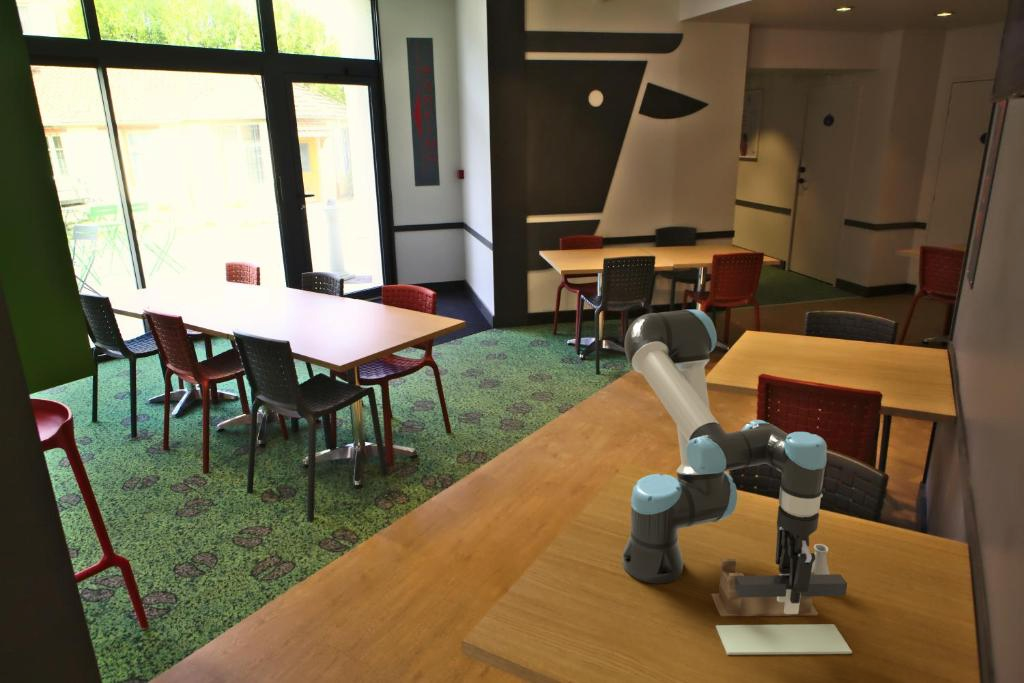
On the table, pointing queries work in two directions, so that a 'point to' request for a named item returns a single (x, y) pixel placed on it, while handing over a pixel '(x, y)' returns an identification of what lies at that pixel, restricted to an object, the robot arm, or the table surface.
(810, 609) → the rack
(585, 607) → the table surface
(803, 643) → the mat
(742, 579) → the rail
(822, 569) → the flask
